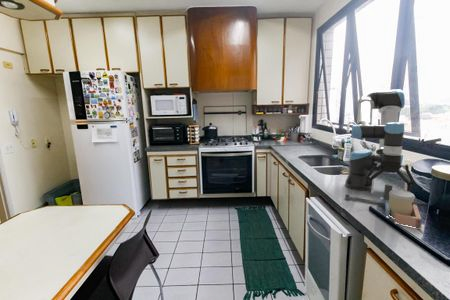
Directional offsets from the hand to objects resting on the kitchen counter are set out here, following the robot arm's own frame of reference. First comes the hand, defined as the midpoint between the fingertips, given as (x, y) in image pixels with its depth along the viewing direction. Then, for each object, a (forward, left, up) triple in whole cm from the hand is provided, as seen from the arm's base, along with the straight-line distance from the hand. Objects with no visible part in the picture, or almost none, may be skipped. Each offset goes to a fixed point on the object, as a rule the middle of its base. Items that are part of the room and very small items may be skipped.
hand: (387, 194), depth 115 cm
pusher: (+7, 0, -6) cm, 9 cm away
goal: (+12, +7, -6) cm, 15 cm away
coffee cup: (+12, +4, -6) cm, 14 cm away
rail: (0, -6, -6) cm, 9 cm away
